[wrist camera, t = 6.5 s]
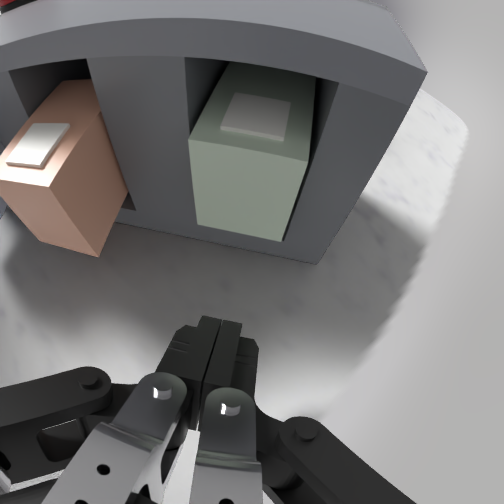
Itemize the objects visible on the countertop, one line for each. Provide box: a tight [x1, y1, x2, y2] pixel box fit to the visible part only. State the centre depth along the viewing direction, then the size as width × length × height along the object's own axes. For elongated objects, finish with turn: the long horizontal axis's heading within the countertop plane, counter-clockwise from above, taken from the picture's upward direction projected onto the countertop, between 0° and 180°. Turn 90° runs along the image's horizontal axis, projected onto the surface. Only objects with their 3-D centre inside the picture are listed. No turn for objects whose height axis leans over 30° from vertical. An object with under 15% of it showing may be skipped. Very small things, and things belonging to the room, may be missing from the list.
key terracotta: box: [0, 79, 129, 257], centre depth 13 cm, size 4×7×6 cm, turn 169°
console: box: [0, 0, 427, 264], centre depth 15 cm, size 28×8×14 cm, turn 79°
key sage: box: [188, 61, 316, 242], centre depth 15 cm, size 4×7×6 cm, turn 169°
